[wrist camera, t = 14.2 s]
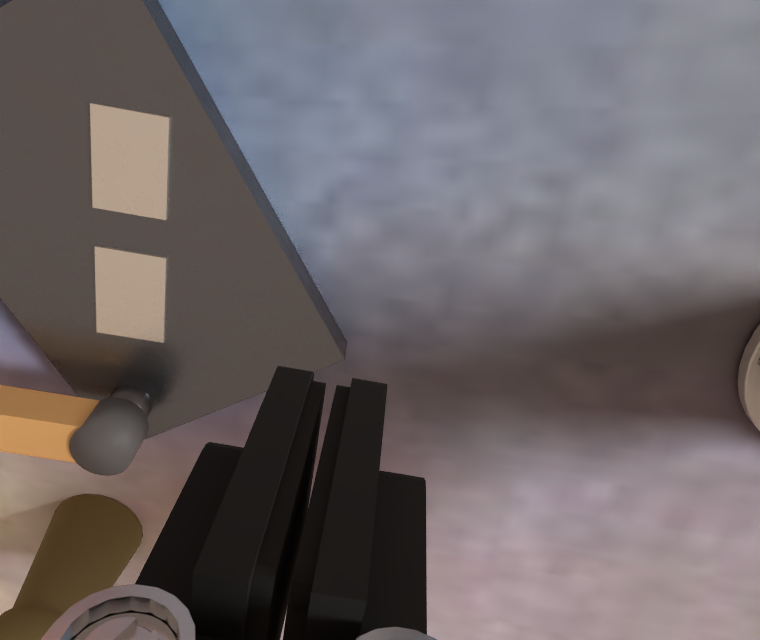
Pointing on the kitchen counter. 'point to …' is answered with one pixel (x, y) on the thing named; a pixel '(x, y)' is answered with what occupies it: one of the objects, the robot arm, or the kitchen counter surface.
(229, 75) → the kitchen counter surface
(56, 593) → the cork
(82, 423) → the wooden bar
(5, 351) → the kitchen counter surface
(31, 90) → the plate
